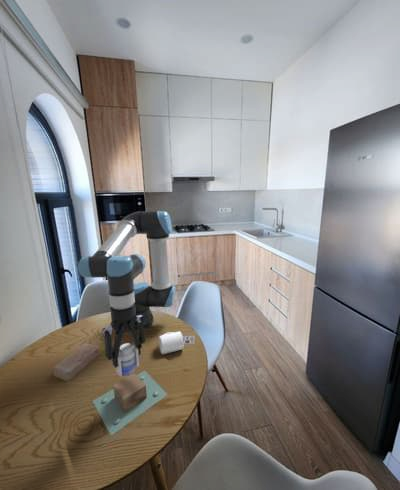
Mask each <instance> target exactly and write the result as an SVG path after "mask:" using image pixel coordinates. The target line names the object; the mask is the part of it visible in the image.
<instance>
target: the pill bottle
mask: <svg viewBox="0 0 400 490" xmlns="http://www.w3.org/2000/svg"><path fill="white" fill-rule="evenodd" d="M132 346H133V345H132V343H129V342H126V343H123V344H120V349H119V356H120V357H121V367H122V376H120V377H121V378H123V379H125V378H127V377H130V376H132V375H133V374H134V373H135V372H136V365H135V352H134V350H133V349H132Z"/></svg>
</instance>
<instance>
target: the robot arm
mask: <svg viewBox="0 0 400 490" xmlns="http://www.w3.org/2000/svg"><path fill="white" fill-rule="evenodd" d="M172 225H173V224H172V219H171V217H170V214H169V213H168V212H167V211H164V210H163V211H161V210H151V211H150V210H149V211H141V210H140V211H135V212H132V213H130V214H128V215H126V216H125V217H123V218H122V219H120V221H119V222H118V223H117V225H116V229H115V230H114V231H113V232H112V233H111V235H110V236H109V237H107V239H106V240H105V241H104V242H103V243H102V244H101V245H100V246H99V248H98V249H97V251H96V252H94V254H93V255H88V256H83V257H81V258H80V260H78V261H79V262H78V264H77V265H78V266H77V270H78V272H79V275H80V276H81V277H84V278H91V279H93V278H94V279H95V278H107V284H108V295H109V296H108V299H109V306H110V309H109V310H110V318H111V319H110V320H111V322H110V325H108V327H103V328H102V329H101V332H102V334H103V335H104V351H105V352H104V353H105V355H104V356H105V357H106V358H107V360H108V361H112V365H113V367H114V368H115V371H116V373H117V375H118V376H119V377H121V376H122V367H121V357H120V356H119V352H120V346H121V345H122V344H121V343H122V338H123V336H124V334H125V333H127V332H129V334H130V337H131V339H132V342H133V344H134V345H132V349H133V350H134V352H135V367H136V368H138V367H140V359H139V357H140V355H141V349H142V347H143V344H145V343H146V334H145V329H146V328H148V327H151V326H152V325H153V323H154V320H155V319H154V315H153V313H152V310H151V308H170V307H172V306H173V305H174V301H175V296H176V295H175V294H176V286H175V285H173V282H172V281H171V280H170V275H169V263H168V262H169V260H168V245H167V240H168V238H170V235H171V234H172V231H173V227H172ZM136 235H145V236H146V239H147V240H149V246H150V247H149V248H150V256H151V257H150V258H151V267H152V268H151V269H152V280H153V281H152V283H151V284H150V285H149V283H148V282H145V281H144V282H143V281H142V282H137V283H134V282H135V281H134V280H135V279H136V278H137V277H138V276H139V275H141V274H142V272H144V270H145V268H146V261H145V259H144V257H143V256H142V255H141V254H137V253H133V254H130V255H120V254H121V253H122V251H123V250H124V248H125V247H126V246H127V244H128V242H129V241H130V239H131V238H133V237H135V236H136ZM136 330H137V332H136ZM113 331H114V339H113V345H112V336H111V335H112V332H113ZM137 333H138V334H137Z"/></svg>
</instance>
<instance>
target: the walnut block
mask: <svg viewBox="0 0 400 490" xmlns="http://www.w3.org/2000/svg"><path fill="white" fill-rule="evenodd" d="M137 375H138V374H137V373H134V374H133V375H132V376H130V377H126V378H123V379H122V380H120V381H118V382H116V383H115V384H113V389H114V396H115V399H116V400H117V402H118V404H119V405H120V407H121V408H122V410H123V411H124V413H125V412H127V411H128V410H130V409H131V408H133V407H134V406H136V405H137V404H139V403H140V402H141V401H143V400H144V399H146V398H147V394H146V385H145V384H144V383H143V381H142V380H141V379H140V378H139V377H138V376H137Z"/></svg>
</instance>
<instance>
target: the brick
mask: <svg viewBox="0 0 400 490" xmlns="http://www.w3.org/2000/svg"><path fill="white" fill-rule="evenodd" d="M99 355H100V347H99V346H98V345H95V344H90V343H89V344H88V343H84V344H82V345H81V346H80V347H79V348H78V349H76V350H74V352H73V353H71V354H69V355H67V357H65V358H63V359H62V360H61V361H59V362H58V363H57V364H56V365H54V367H53V375H54V377H56V378H59V379H61V380H63V381H66V382H67V381H70V380H71V379H72V378H74V377H75V376H76V375H77V374H78V373H80V372H81V371H82V370H83V369H84V368H85V367H87V365H88V364H90V363H91V362H93V361H94V360H95V359H96V358H97V357H98V356H99Z"/></svg>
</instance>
